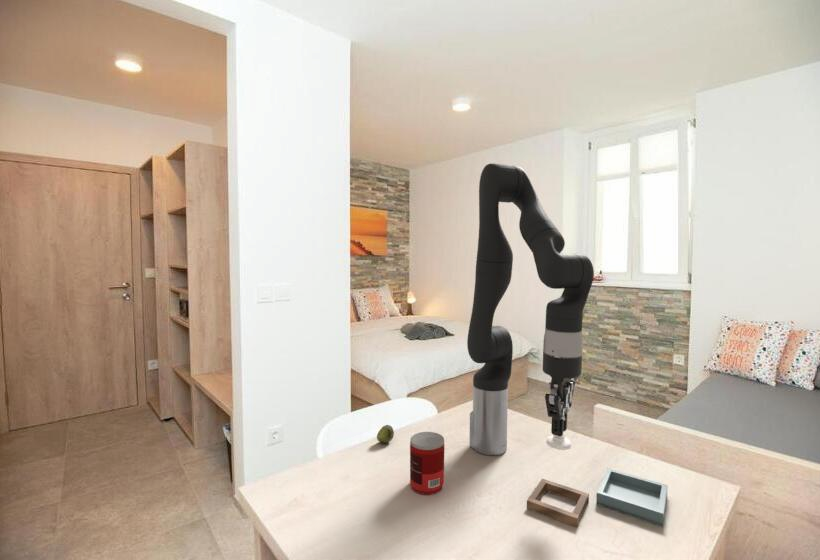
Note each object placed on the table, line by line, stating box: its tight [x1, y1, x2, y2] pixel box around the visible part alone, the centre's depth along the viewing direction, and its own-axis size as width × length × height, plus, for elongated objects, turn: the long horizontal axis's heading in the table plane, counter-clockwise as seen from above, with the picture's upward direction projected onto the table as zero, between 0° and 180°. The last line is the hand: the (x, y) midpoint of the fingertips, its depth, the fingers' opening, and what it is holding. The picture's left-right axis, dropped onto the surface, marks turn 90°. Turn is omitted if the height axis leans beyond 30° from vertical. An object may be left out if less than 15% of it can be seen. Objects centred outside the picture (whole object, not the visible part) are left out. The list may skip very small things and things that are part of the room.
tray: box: [595, 467, 669, 527], centre depth 87 cm, size 12×12×3 cm
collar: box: [526, 478, 590, 528], centre depth 86 cm, size 10×10×2 cm
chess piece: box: [545, 402, 572, 451], centre depth 85 cm, size 5×5×10 cm
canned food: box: [409, 431, 445, 496], centre depth 93 cm, size 8×8×11 cm
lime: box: [376, 424, 395, 444], centre depth 114 cm, size 4×5×5 cm
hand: (558, 432), depth 85 cm, fingers closed on chess piece
